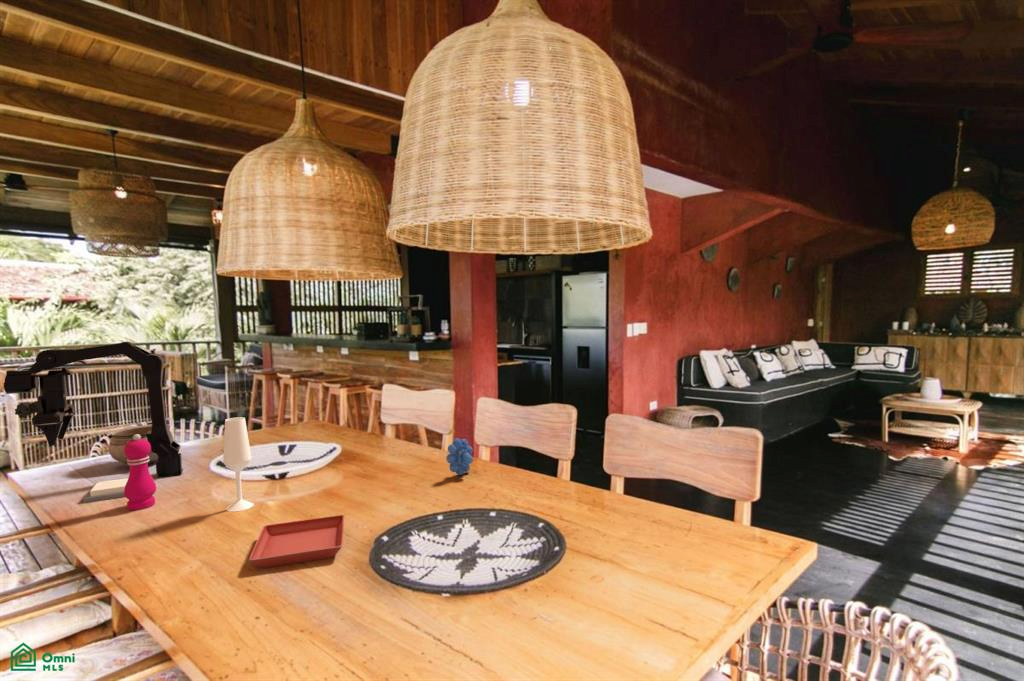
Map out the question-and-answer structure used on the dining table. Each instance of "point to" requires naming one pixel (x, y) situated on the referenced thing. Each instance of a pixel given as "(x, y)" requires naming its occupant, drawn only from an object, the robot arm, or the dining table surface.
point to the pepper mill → (139, 475)
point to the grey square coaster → (106, 490)
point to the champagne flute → (237, 456)
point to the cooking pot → (126, 436)
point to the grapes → (459, 456)
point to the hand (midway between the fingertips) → (56, 442)
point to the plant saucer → (298, 541)
